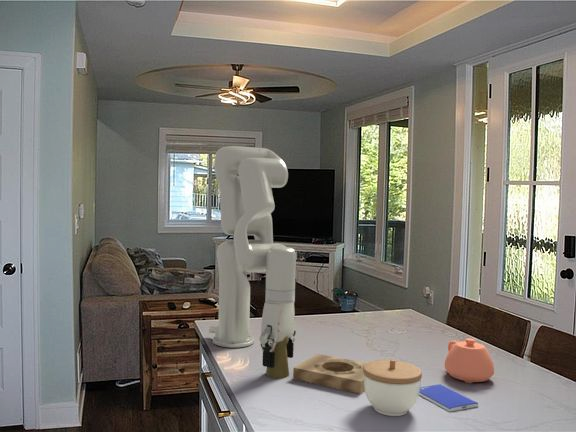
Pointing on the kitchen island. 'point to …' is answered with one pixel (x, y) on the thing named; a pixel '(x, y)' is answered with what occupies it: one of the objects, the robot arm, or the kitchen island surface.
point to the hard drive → (446, 398)
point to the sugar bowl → (469, 361)
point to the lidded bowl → (392, 386)
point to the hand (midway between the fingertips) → (278, 361)
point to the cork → (279, 361)
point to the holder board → (332, 373)
